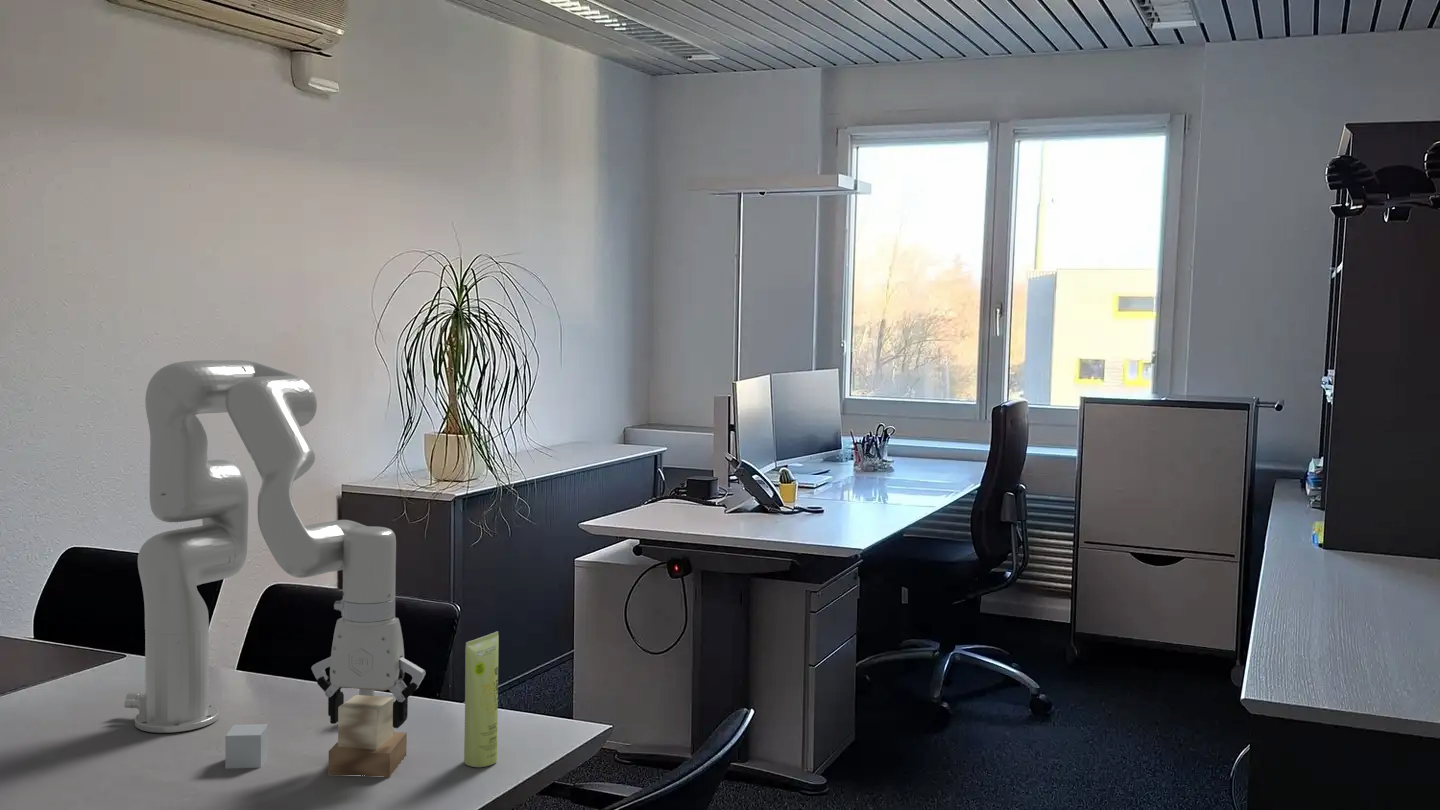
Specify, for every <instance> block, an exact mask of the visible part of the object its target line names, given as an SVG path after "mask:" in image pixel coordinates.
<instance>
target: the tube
mask: <svg viewBox="0 0 1440 810" xmlns="http://www.w3.org/2000/svg"><path fill="white" fill-rule="evenodd" d="M499 637H500V636H499V631H495V632H492V633H489V634H487V635H484V636H481V637H478V638H476V639H473V640H469V641H466V642H465V646H464V647H465V648H464V649H465V650H464V652H465V655H464V656H465V659H464V661H465V667H464V668H465V671H464V672H465V673H464V674H465V675H464V676H465V677H464V683H465V684H464V687H465V688H464V740H463V741H464V745H463V746H464V747H463V750H464V751H463V753H464V754H463V761H464V764H465V765H466V766H469V767H472V768H485V767H489V766H492V765H494V764H496V763H497V761H498V724H499V723H498V722H499V721H498V719H499V713H498V712H499V710H498V709H499V648H500V647H499V645H500V644H499V640H500V639H499Z"/></svg>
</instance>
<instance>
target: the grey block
mask: <svg viewBox="0 0 1440 810" xmlns="http://www.w3.org/2000/svg"><path fill="white" fill-rule="evenodd" d="M224 741H225V745H224V746H225V762H224V763H225V770H226V769H254V768H255V769H256V768H257V769H259V768H260V769H261V768H262V766H263V765H264V763H265V762H266V760H267V759H268V758H269V723H260V724H259V723H256V724H255V723H253V724H252V723H251V724H250V723H249V724H234V725H232V727H231V728H230V729H229V730H228V732H227V733H226V734H225V740H224Z"/></svg>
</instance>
